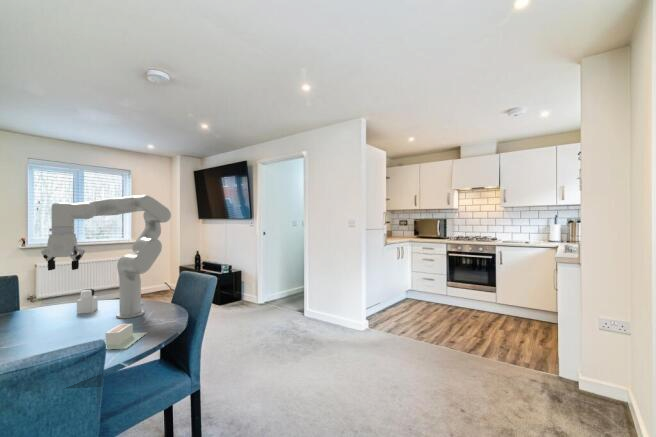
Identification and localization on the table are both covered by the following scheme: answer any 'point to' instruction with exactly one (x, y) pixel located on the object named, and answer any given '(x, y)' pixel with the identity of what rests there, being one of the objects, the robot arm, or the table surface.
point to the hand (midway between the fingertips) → (63, 269)
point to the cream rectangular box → (119, 334)
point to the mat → (126, 342)
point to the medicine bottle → (87, 302)
